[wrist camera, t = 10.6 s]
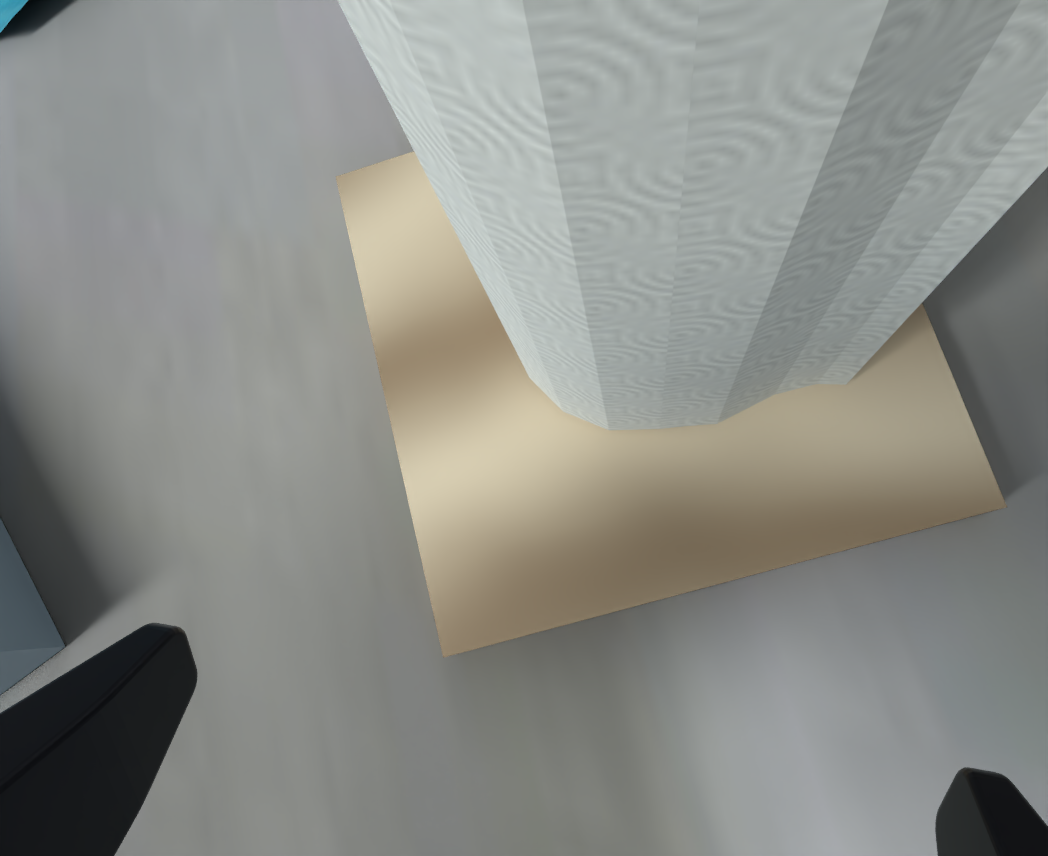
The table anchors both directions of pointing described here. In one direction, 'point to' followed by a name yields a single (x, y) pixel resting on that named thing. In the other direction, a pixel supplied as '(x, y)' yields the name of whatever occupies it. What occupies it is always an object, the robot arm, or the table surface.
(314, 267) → the table surface
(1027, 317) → the table surface
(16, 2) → the blue flat elongated piece
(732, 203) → the paper towel roll
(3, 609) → the blue square frame
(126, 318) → the table surface
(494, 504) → the wooden pad
